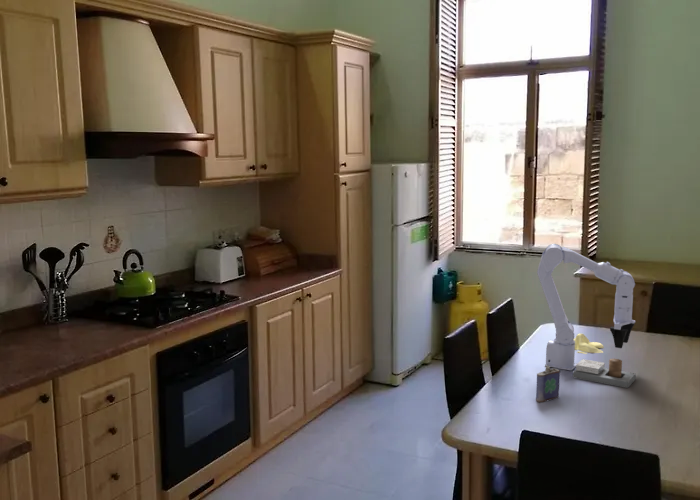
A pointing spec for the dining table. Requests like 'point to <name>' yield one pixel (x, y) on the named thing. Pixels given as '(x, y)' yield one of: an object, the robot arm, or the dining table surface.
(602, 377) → the grey flat frame
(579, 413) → the dining table surface
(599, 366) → the sliding cover
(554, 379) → the flask
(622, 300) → the robot arm
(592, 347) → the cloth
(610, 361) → the pin
